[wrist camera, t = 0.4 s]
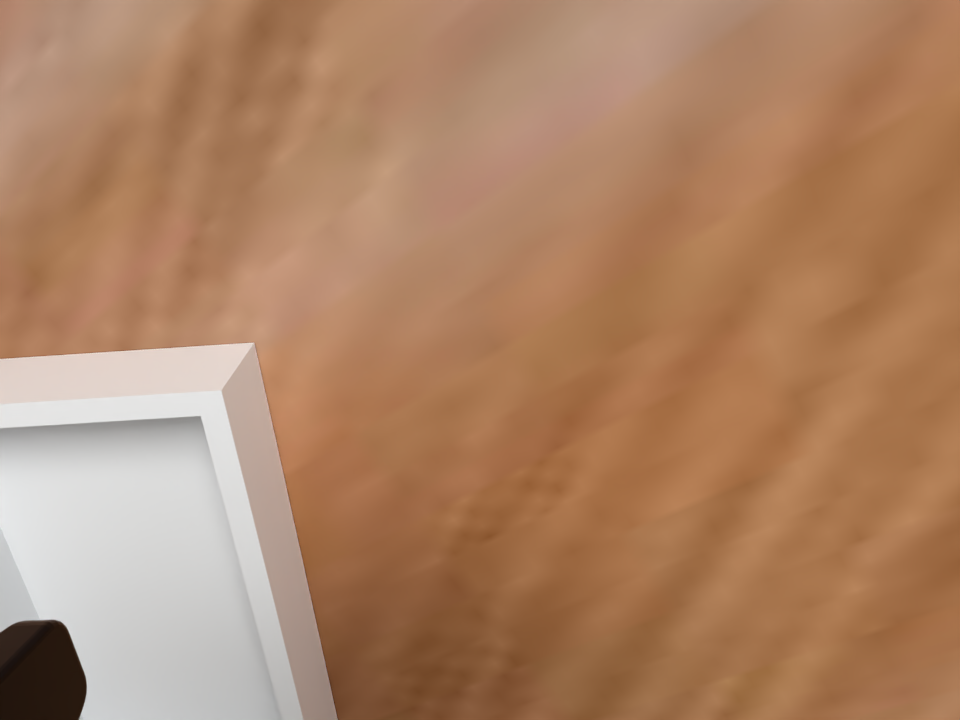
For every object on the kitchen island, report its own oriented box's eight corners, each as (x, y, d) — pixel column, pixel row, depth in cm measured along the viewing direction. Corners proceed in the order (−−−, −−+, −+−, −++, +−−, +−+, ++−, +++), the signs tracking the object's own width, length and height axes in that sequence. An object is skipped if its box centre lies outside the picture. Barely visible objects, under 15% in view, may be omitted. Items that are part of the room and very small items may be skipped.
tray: (338, 724, 28) (323, 799, 26) (83, 735, 29) (41, 811, 26) (254, 342, 22) (221, 390, 19) (-79, 364, 22) (-159, 414, 19)
